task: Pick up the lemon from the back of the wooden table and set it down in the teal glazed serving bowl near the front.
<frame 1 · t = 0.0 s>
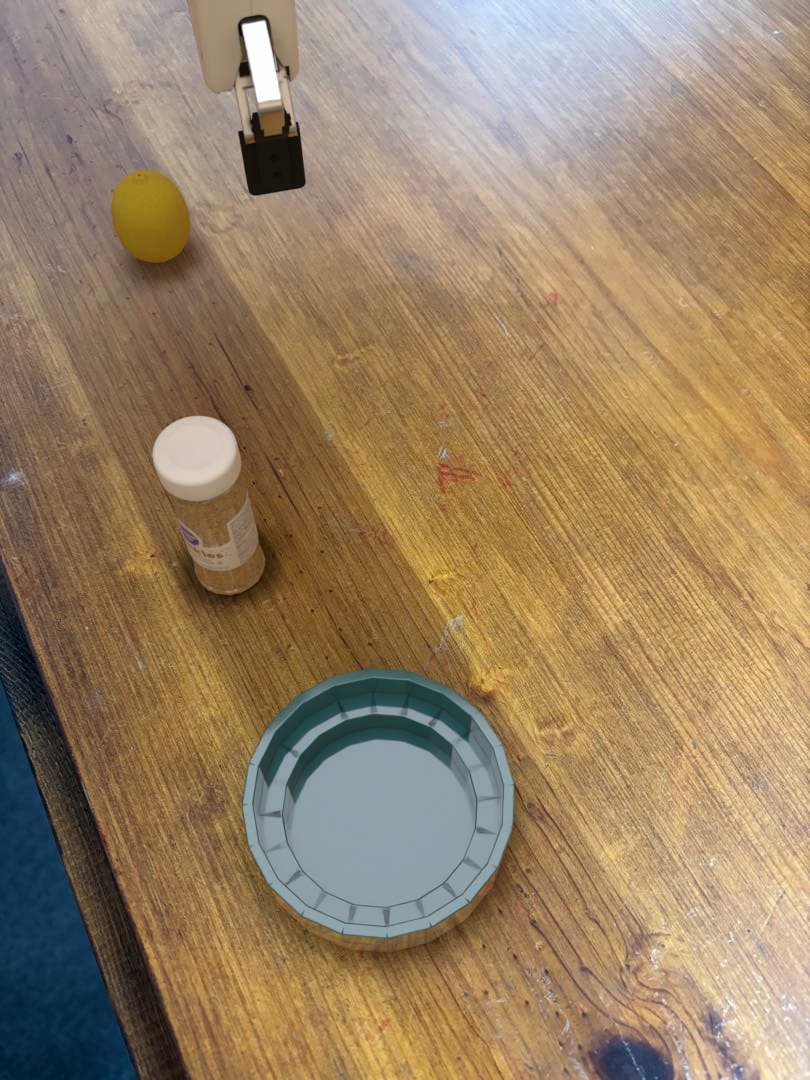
hand: (263, 130, 62), 18 cm above the table, tool pointing down, fingers open, 9 cm apart
sprinkles bottle: (232, 567, 68), on the table
bowl: (381, 819, 60), on the table
lemon: (163, 259, 82), on the table
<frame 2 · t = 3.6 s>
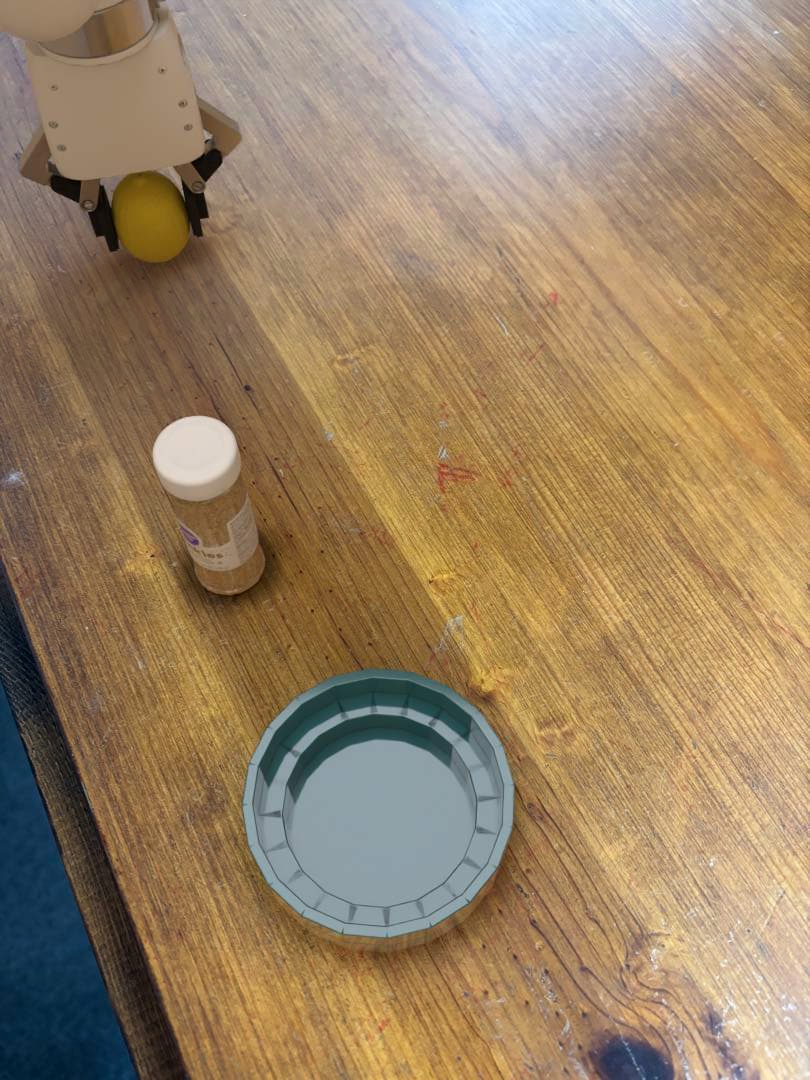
hand: (154, 229, 79), 3 cm above the table, tool pointing down, fingers closed on lemon, 5 cm apart
lemon: (163, 259, 82), on the table, touching gripper
everything else where it was.
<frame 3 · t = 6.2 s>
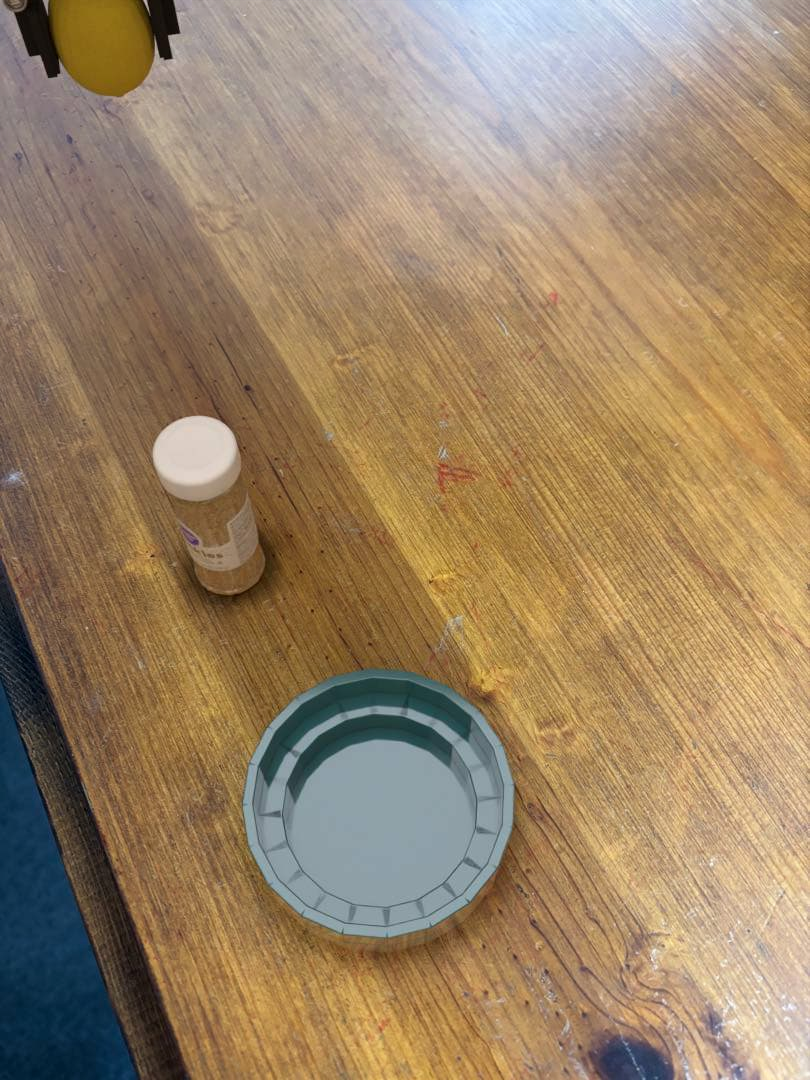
hand: (107, 50, 60), 22 cm above the table, tool pointing down, fingers closed on lemon, 5 cm apart
lemon: (120, 98, 62), point 19 cm above the table, touching gripper
everything else where it was.
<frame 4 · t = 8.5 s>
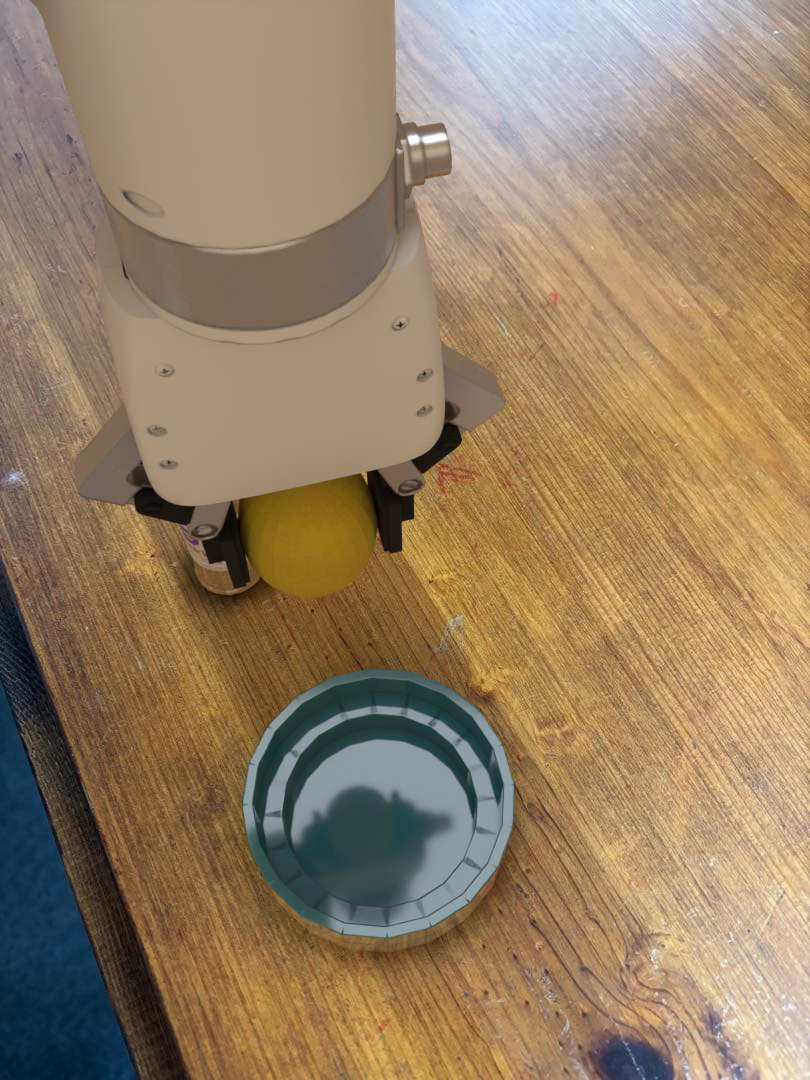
hand: (310, 537, 43), 22 cm above the table, tool pointing down, fingers closed on lemon, 5 cm apart
lemon: (316, 572, 46), point 19 cm above the table, touching gripper
everything else where it was.
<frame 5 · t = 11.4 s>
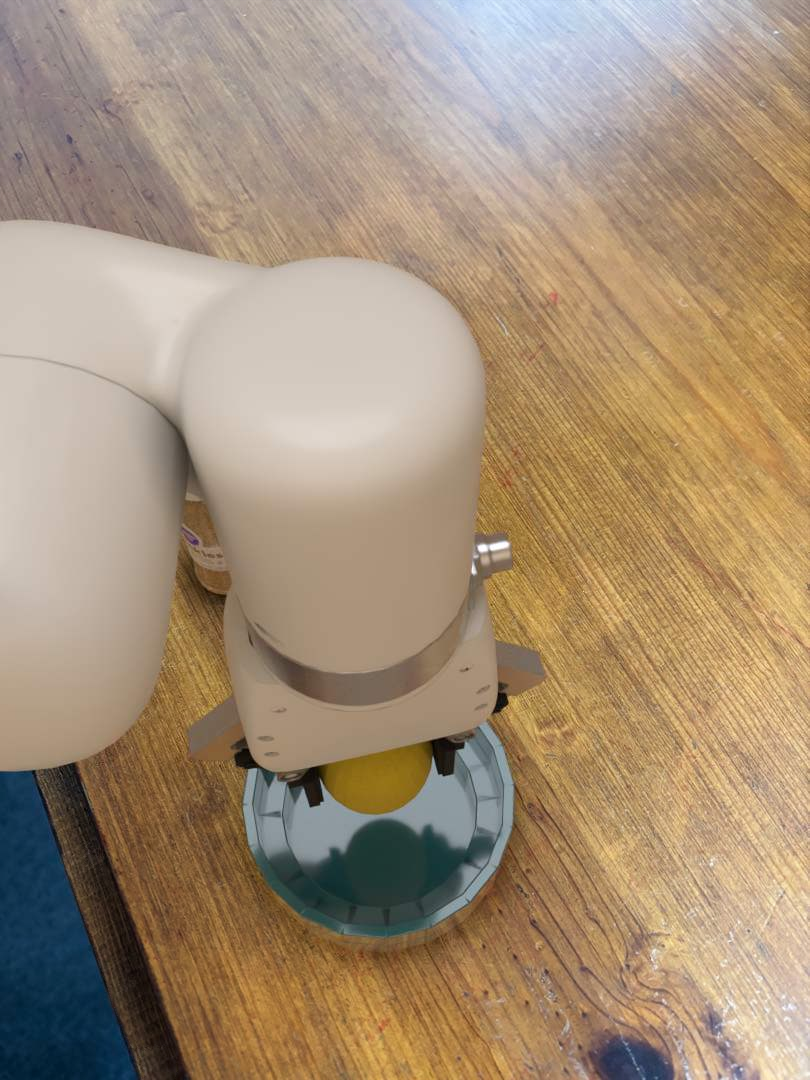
hand: (374, 759, 51), 11 cm above the table, tool pointing down, fingers closed on lemon, 5 cm apart
lemon: (377, 778, 53), point 8 cm above the table, touching gripper
everything else where it was.
when the fingers open (4 cm above the table, at t = 13.6 s): lemon stays where it is, resting on bowl.
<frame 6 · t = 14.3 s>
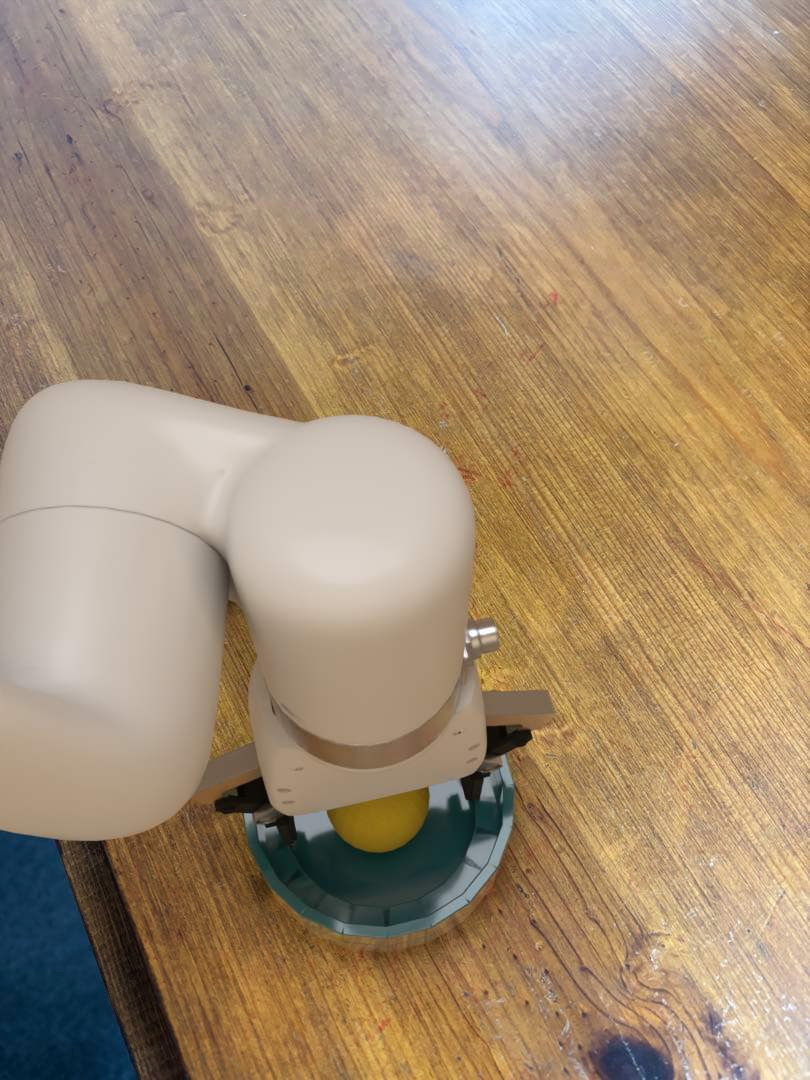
hand: (376, 794, 56), 5 cm above the table, tool pointing down, fingers open, 9 cm apart
lemon: (379, 817, 60), resting on bowl
everything else where it was.
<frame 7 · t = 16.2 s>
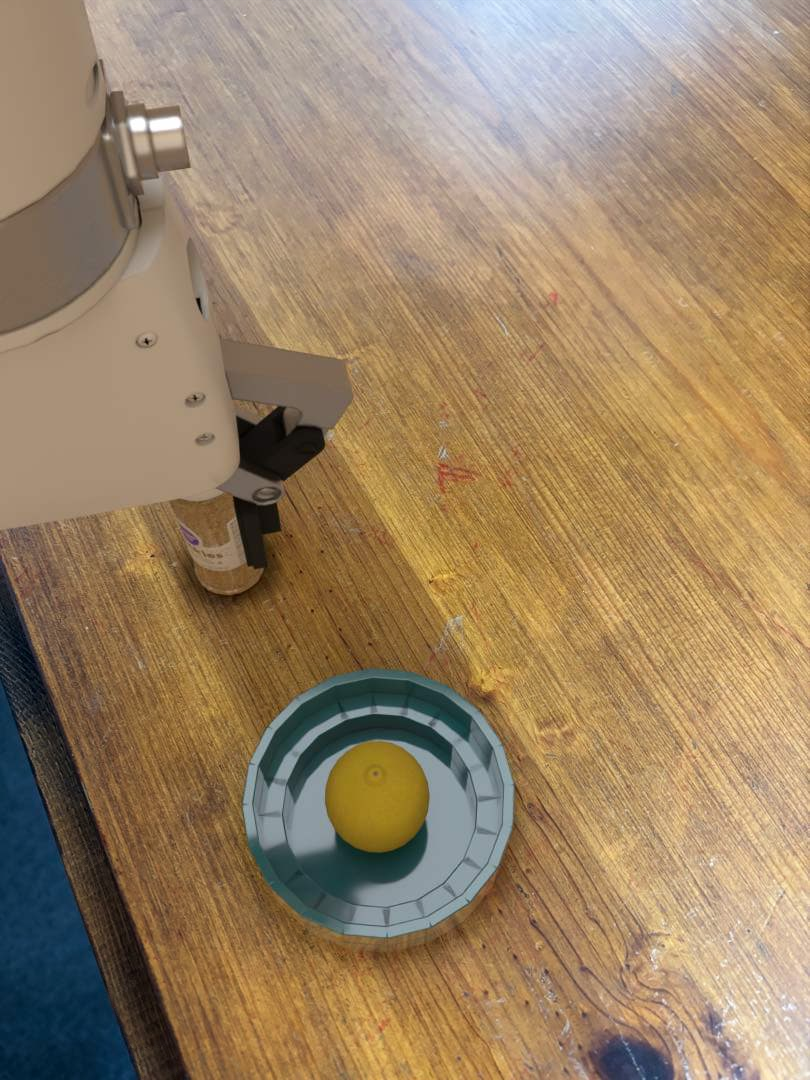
hand: (120, 558, 38), 26 cm above the table, tool pointing down, fingers open, 9 cm apart
nothing on the table moved.
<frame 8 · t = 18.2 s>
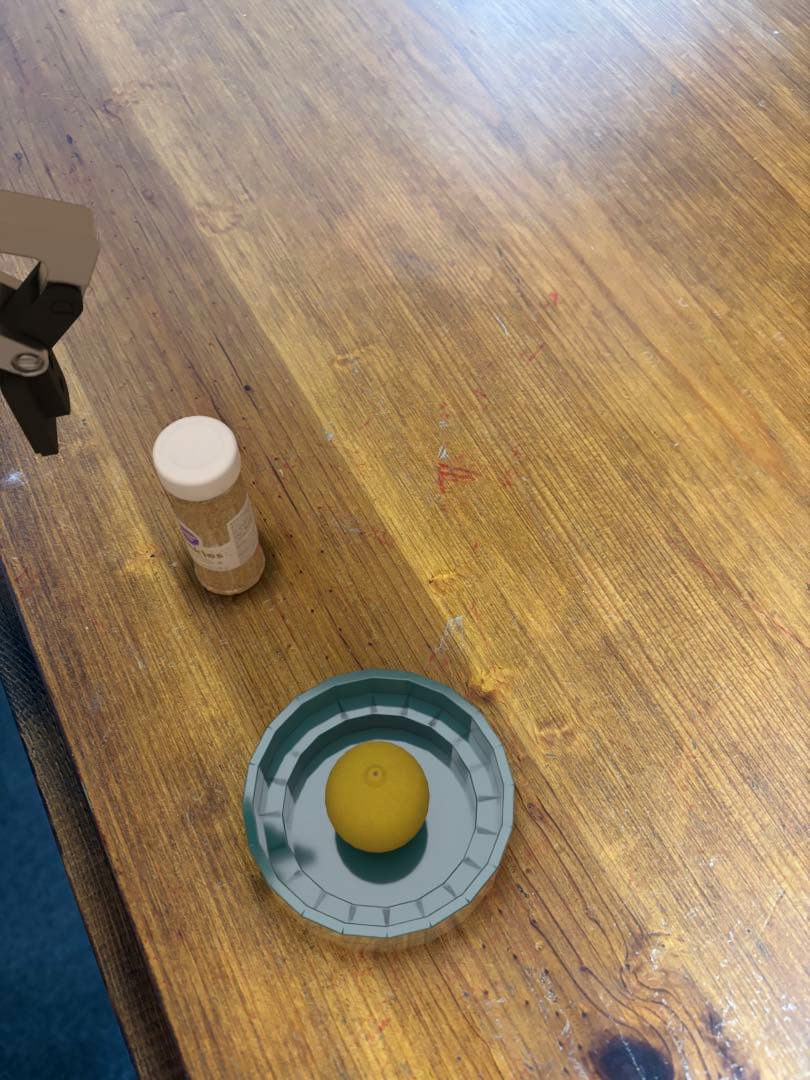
nothing on the table moved.
at the end: lemon inside the target area in the bowl (0.1 cm from its centre), point 0.4 cm above the bowl's base; the gripper is holding nothing; lemon moved 46.5 cm from its start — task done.
